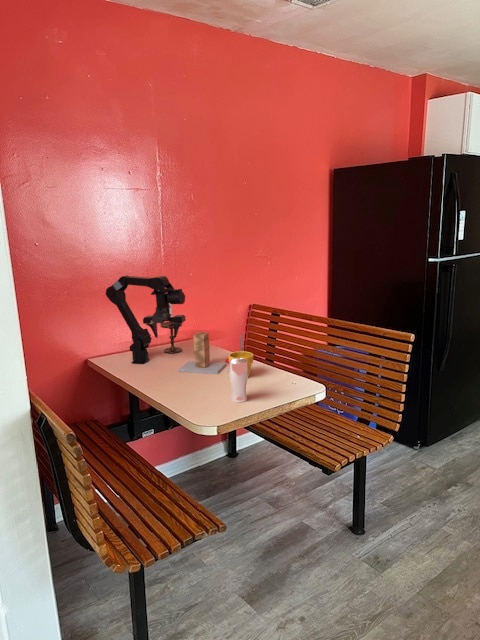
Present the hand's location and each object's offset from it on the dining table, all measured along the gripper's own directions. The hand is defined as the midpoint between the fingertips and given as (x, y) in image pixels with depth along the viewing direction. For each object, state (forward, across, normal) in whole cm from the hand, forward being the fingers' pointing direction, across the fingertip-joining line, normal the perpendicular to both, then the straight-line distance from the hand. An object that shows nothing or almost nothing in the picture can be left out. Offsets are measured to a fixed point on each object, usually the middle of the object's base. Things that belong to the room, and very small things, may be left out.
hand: (166, 337), depth 220 cm
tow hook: (+14, +29, +10) cm, 34 cm away
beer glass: (+15, +42, -37) cm, 58 cm away
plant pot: (+15, +37, -12) cm, 42 cm away
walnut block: (+12, +18, -4) cm, 22 cm away
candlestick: (+13, -6, +22) cm, 26 cm away
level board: (+14, +18, -4) cm, 23 cm away
